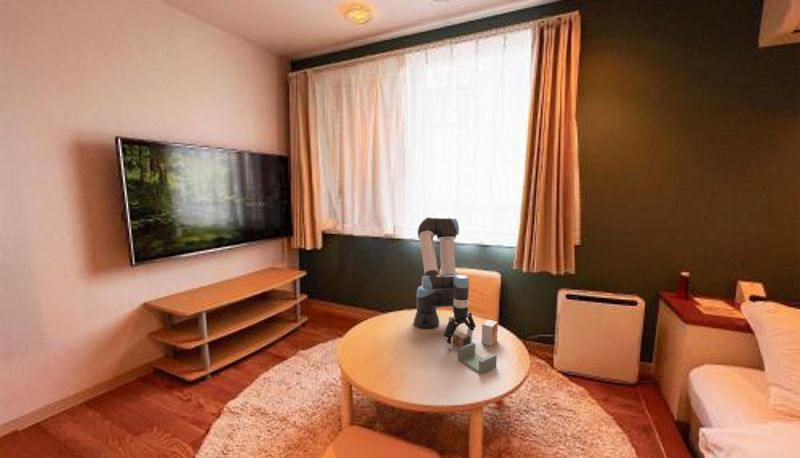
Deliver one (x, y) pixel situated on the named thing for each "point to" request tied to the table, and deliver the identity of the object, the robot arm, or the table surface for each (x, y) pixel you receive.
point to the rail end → (460, 339)
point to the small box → (489, 332)
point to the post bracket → (476, 359)
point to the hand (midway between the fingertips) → (460, 345)
